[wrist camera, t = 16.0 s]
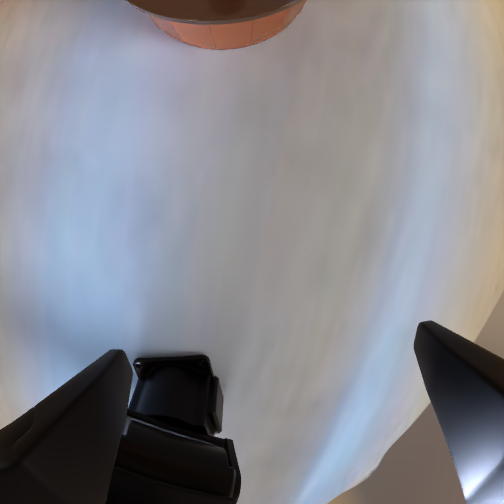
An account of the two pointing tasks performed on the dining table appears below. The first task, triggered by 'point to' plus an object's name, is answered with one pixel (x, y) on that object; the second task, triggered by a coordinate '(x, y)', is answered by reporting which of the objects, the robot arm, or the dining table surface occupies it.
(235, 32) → the crock
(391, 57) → the dining table surface
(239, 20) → the brown disc with post
